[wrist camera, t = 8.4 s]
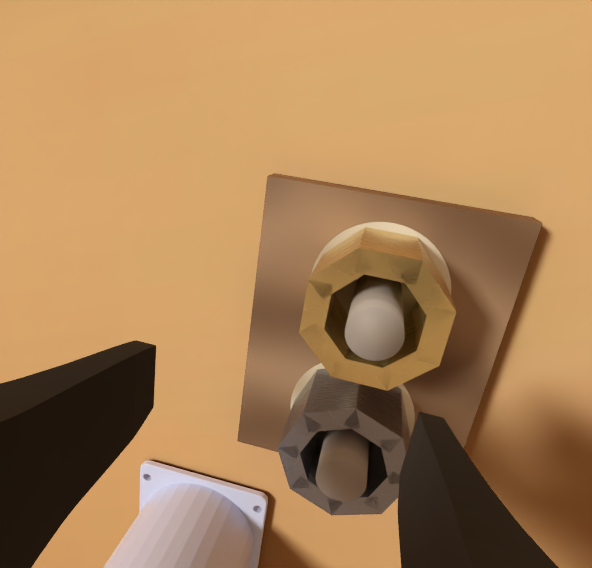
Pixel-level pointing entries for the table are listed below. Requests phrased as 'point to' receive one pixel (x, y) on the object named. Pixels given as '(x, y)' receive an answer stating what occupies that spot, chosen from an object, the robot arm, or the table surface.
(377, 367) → the gear
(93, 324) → the table surface
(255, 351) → the board
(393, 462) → the gear
